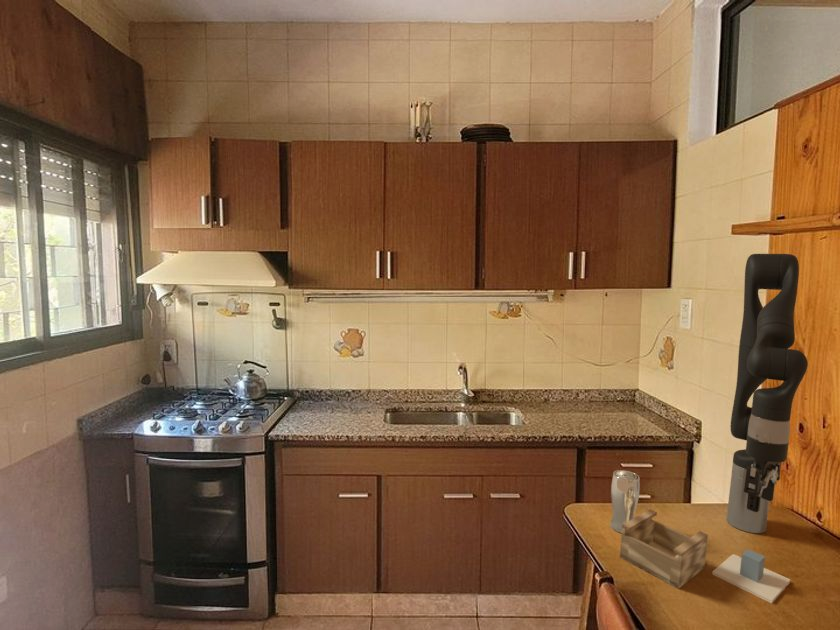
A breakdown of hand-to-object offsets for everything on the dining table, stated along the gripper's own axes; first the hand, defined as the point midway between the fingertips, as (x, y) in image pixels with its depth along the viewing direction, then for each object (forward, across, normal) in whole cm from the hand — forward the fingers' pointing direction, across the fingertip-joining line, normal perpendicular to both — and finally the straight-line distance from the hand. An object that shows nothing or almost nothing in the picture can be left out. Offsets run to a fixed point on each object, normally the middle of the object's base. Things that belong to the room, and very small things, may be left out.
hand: (759, 504), depth 110 cm
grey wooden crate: (+18, +12, -15) cm, 26 cm away
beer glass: (+18, +5, -29) cm, 35 cm away
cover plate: (+18, 0, 0) cm, 19 cm away
